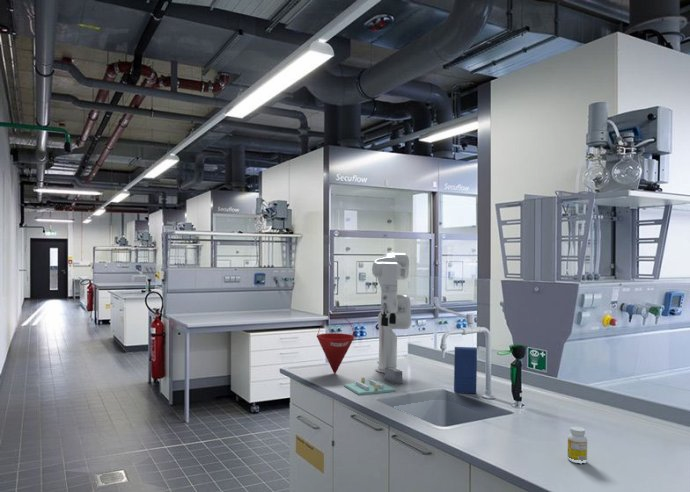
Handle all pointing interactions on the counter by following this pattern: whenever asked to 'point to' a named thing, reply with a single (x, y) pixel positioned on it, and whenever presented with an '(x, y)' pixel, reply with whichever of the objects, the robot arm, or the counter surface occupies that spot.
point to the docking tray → (368, 387)
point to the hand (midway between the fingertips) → (388, 324)
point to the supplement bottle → (577, 444)
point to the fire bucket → (335, 346)
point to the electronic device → (465, 370)
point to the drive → (393, 375)
